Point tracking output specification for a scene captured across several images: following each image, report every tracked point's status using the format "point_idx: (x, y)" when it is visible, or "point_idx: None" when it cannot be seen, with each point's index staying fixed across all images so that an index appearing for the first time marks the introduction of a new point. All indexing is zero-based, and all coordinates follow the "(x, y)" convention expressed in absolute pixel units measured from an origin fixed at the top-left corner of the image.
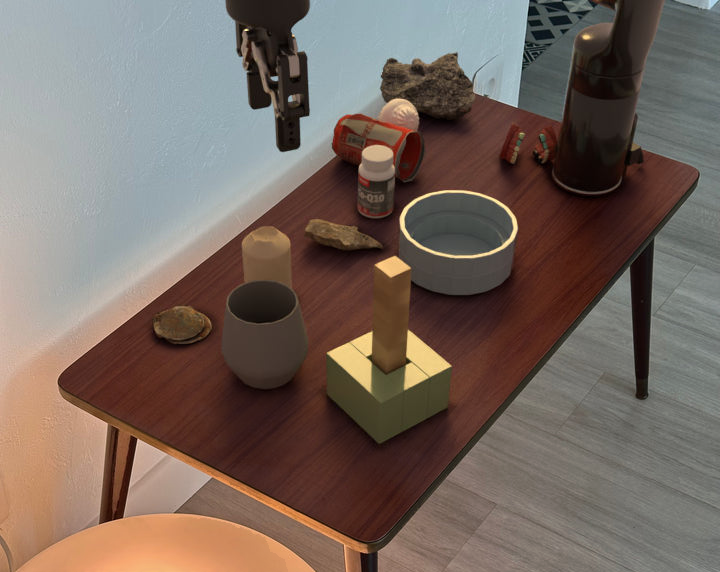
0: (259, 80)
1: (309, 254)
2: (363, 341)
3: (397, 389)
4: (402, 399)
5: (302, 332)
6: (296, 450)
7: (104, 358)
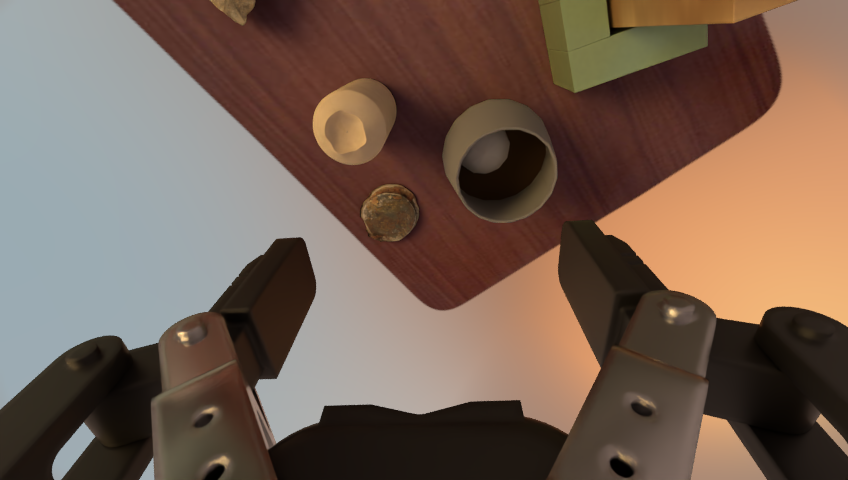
0: (273, 325)
1: (269, 22)
2: (577, 28)
3: None
4: None
5: (533, 118)
6: (619, 142)
7: (417, 283)
